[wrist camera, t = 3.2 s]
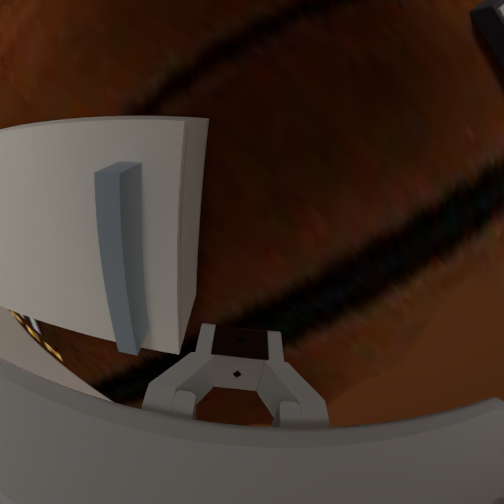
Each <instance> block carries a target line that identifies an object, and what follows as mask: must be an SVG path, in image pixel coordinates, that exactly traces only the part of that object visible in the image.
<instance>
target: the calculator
mask: <svg viewBox="0 0 504 504" xmlns="http://www.w3.org/2000/svg"><path fill="white" fill-rule="evenodd" d="M470 14H471V16H472V18H473V19H474V21H475V22H476V24H477V25H478V27H479V28H480V30H481V31H482V33H483V35H484V36H485V38H486V39H487V41H488V43H489V44H490V46H491V48H492V49H493V51H494V53H495V55H496V56H497V58H498V60H499V62H500V64H501V66H502V68H503V70H504V0H486V1H484V2H483V3H481V4H480V5H478V6H477V7H475V8H474V9H472V10H471V11H470Z"/></svg>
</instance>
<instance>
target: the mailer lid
mask: <svg viewBox="0 0 504 504" xmlns="http://www.w3.org/2000/svg"><path fill="white" fill-rule="evenodd" d="M187 124H188V121H183V120H157V119H118V120H93V121H77V122H65V123H55V124H46V125H38V126H31V127H24V128H18V129H12V130H7V131H1V132H0V306H2V307H4V308H7V309H9V310H12V311H15V312H17V313H20V314H23V315H26V316H29V317H31V318H34V319H37V320H40V321H43V322H46V323H49V324H53V325H56V326H59V327H62V328H66V329H69V330H72V331H76V332H80V333H83V334H87V335H91V336H94V337H98V338H102V339H106V340H110V341H114V342H116V343H117V347H118V351H119V352H124V353H128V354H132V355H137V356H138V353H139V351H140V348H146V349H151V350H157V351H162V352H167V353H173V354H179V353H180V349H181V340H180V298H179V266H180V223H181V201H182V184H183V169H184V156H185V144H186V133H187Z"/></svg>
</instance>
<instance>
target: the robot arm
mask: <svg viewBox="0 0 504 504" xmlns="http://www.w3.org/2000/svg"><path fill="white" fill-rule="evenodd" d="M213 387H223V388H235V389H243V390H251V391H257V393H258V395H259V396H260V398H261V399H262V401H263V402H264V404H265V405H266V407H267V408H268V410H269V411H270V413H271V414H272V416H273V417H274V419H273V421H272V424H271V426H270V427H257V426H243V425H232V424H222V423H214V422H206V421H199V420H196V405H197V404H198V403H199V402H200V401H201V399H202V398H203V397H204V396H205V395H206V394H207V393H208V392H209V391H210V390H211V389H212V388H213ZM0 504H504V402H503V401H501V400H500V399H498V398H495V397H492V398H488V399H485V400H482V401H479V402H476V403H472V404H469V405H465V406H462V407H458V408H454V409H451V410H446V411H442V412H438V413H433V414H429V415H424V416H419V417H414V418H408V419H402V420H396V421H389V422H381V423H373V424H364V425H352V426H339V427H330V424H329V419H328V413H327V408H326V403H325V400H324V399H323V398H322V397H321V396H320V395H319V394H318V393H317V392H316V391H315V390H314V389H313V388H312V387H311V386H310V385H309V384H308V383H307V382H306V381H305V380H304V379H303V378H302V377H301V376H300V375H299V374H298V373H297V372H296V370H295V369H294V368H293V367H292V366H291V365H290V364H289V363H288V362H284V357H283V348H282V338H281V333H280V332H279V331H263V330H253V329H243V328H235V327H228V326H221V325H213V324H207V323H202V325H201V329H200V334H199V338H198V343H197V347H196V352H191V353H189V354H188V355H187V356H185V357H184V358H183V359H181V360H180V361H179V362H177V363H176V364H175V365H173V366H172V367H171V368H169V369H168V370H167V371H165V372H164V373H163V374H161V375H160V376H158V377H157V378H156V379H154V380H153V381H152V382H150V383H149V386H148V389H147V392H146V395H145V398H144V401H143V404H142V407H141V409H137V408H133V407H129V406H125V405H122V404H118V403H114V402H111V401H107V400H104V399H101V398H97V397H94V396H91V395H88V394H85V393H82V392H79V391H76V390H74V389H71V388H68V387H65V386H63V385H60V384H58V383H55V382H52V381H50V380H47V379H45V378H43V377H40V376H38V375H36V374H33V373H31V372H29V371H27V370H24V369H23V368H20V367H18V366H16V365H14V364H12V363H10V362H8V361H6V360H4V359H2V358H0Z"/></svg>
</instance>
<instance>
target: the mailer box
mask: <svg viewBox="0 0 504 504" xmlns="http://www.w3.org/2000/svg"><path fill="white" fill-rule="evenodd" d="M118 119H157V120H183V121H188V124H187V133H186V144H185V156H184V169H183V184H182V201H181V223H180V266H179V298H180V340H181V345H182V342H183V338H184V335H185V331H186V328H187V324H188V321H189V317H190V314H191V310H192V307H193V303H194V300H195V297H196V284H197V261H198V242H199V226H200V211H201V198H202V186H203V174H204V163H205V153H206V144H207V134H208V126H209V118H197V117H179V116H103V117H86V118H73V119H63V120H54V121H46V122H38V123H31V124H25V125H19V126H14V127H9V128H5V129H1V130H0V132H1V131H7V130H12V129H18V128H24V127H31V126H38V125H46V124H55V123H65V122H77V121H93V120H118Z"/></svg>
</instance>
